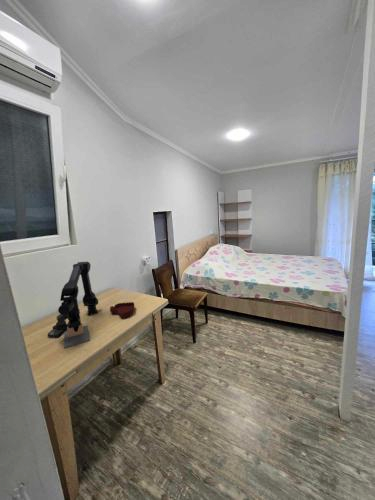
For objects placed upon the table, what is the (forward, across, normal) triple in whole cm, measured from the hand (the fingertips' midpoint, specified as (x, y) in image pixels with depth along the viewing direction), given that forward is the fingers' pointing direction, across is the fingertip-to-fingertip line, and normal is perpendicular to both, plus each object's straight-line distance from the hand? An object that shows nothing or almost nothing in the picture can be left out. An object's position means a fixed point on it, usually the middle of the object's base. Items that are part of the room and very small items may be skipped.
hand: (76, 330), depth 123 cm
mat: (+3, +1, 0) cm, 3 cm away
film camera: (+3, -10, -9) cm, 14 cm away
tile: (+2, 0, 0) cm, 2 cm away
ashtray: (+3, -13, +32) cm, 35 cm away
